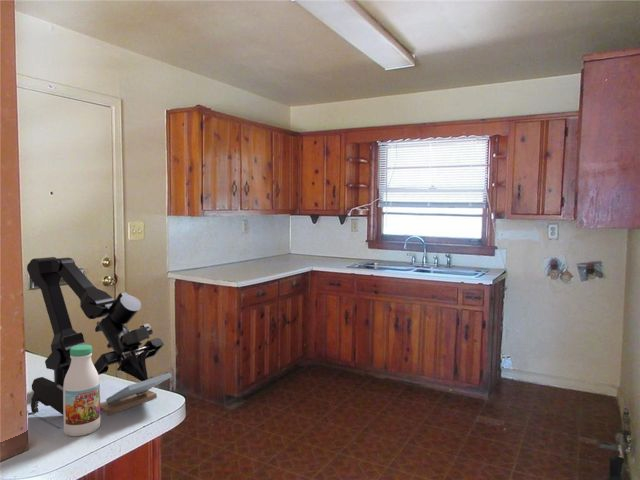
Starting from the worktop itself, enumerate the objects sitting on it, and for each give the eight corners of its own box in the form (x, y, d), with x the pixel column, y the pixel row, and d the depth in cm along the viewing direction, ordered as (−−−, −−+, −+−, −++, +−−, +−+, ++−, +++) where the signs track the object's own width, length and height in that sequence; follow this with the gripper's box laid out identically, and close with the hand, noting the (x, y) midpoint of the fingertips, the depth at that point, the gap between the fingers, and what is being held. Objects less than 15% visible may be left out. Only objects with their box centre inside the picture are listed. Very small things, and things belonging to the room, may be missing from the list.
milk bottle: (56, 433, 105) (54, 349, 103) (83, 419, 112) (82, 340, 111) (81, 440, 102) (79, 353, 101) (107, 425, 109) (106, 344, 108)
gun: (69, 441, 112) (84, 408, 111) (19, 406, 115) (34, 374, 113) (77, 436, 115) (92, 403, 114) (28, 402, 118) (43, 370, 116)
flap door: (104, 400, 117) (128, 385, 110) (146, 386, 127) (170, 372, 120) (106, 406, 117) (130, 392, 110) (147, 391, 126) (172, 378, 119)
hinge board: (96, 409, 118) (95, 404, 118) (144, 392, 129) (144, 388, 129) (108, 415, 114) (108, 410, 114) (156, 397, 126) (156, 393, 126)
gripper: (99, 323, 112) (130, 374, 107) (158, 309, 128) (187, 353, 124) (80, 349, 116) (109, 400, 111) (140, 333, 132) (167, 376, 128)
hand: (146, 381), depth 118 cm, fingers closed
